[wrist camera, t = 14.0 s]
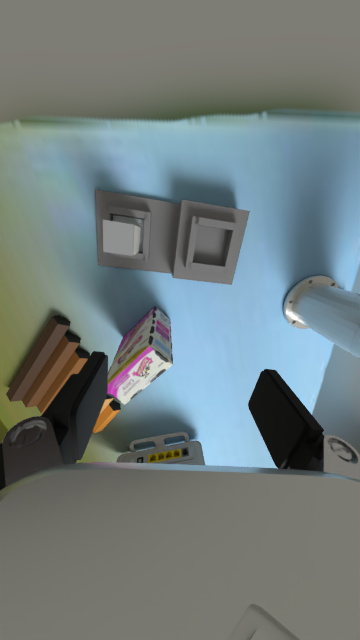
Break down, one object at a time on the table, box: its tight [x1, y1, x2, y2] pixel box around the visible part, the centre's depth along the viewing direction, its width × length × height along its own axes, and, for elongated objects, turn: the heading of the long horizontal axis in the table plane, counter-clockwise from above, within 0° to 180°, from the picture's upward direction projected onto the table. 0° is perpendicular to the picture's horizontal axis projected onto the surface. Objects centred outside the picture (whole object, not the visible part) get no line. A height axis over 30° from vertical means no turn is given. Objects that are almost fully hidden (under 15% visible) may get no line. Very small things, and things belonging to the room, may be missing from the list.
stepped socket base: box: [95, 190, 250, 285], centre depth 32 cm, size 25×12×7 cm, turn 82°
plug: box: [103, 220, 141, 256], centre depth 29 cm, size 4×4×9 cm
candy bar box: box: [107, 306, 173, 405], centre depth 35 cm, size 11×5×16 cm, turn 134°
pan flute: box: [6, 315, 121, 433], centre depth 45 cm, size 25×3×25 cm
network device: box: [116, 432, 205, 465], centre depth 50 cm, size 26×9×20 cm, turn 98°
